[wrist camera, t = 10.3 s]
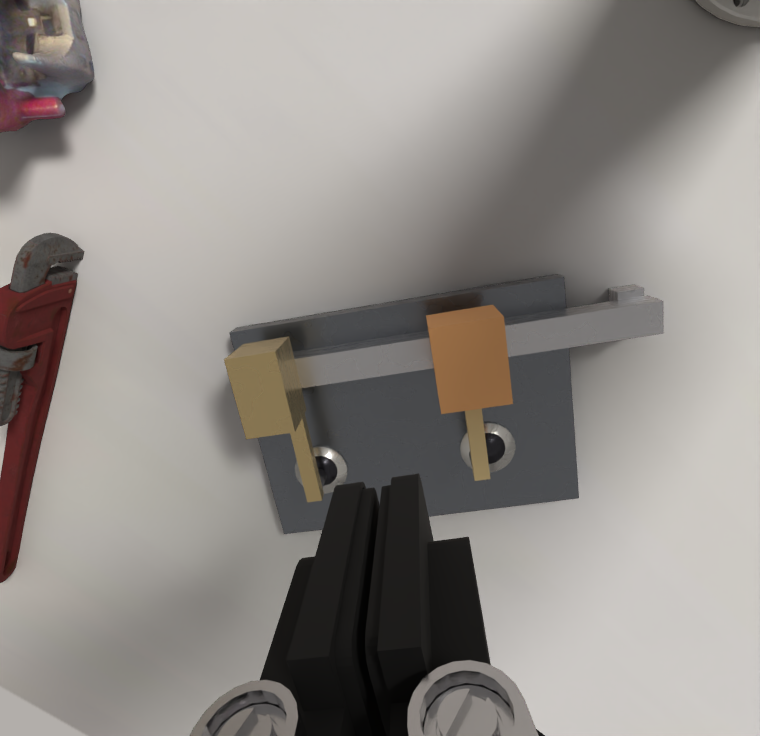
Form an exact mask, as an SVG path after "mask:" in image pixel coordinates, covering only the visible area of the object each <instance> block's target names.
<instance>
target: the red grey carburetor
mask: <svg viewBox="0 0 760 736" xmlns="http://www.w3.org/2000/svg"><path fill="white" fill-rule="evenodd" d="M93 78H94V68H93V63H92V57H91V53H90V49H89V45H88V42H87V39H86V35H85V32H84V29H83V26H82V21H81V8H80V2H79V0H0V132H6V131H17V130H18V129H20V128H22V127H24V126H26V125H27V124H28V123H30V122H31V121H33V120H36V119H54V118H61V117H63V116H65V107H64V105H63V104H62V102H61V100H62V98H63V97H64V96H65V95H67V94H69V93H75V92H80V91H81V90H83V89H84V87H85V86H86V84H87V83H89V82H91V81H92V80H93Z"/></svg>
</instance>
